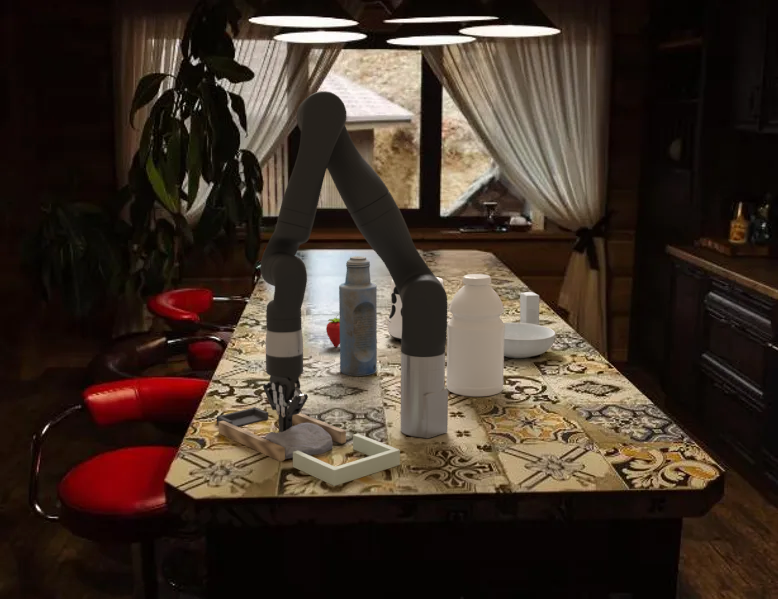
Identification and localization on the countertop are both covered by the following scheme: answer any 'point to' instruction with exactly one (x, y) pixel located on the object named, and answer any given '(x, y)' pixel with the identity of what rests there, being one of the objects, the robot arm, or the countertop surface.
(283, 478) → the countertop surface
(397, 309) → the milk container
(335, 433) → the channel
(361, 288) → the bottle
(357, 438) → the u-shaped green frame
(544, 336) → the serving bowl
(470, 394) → the bottle
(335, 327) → the strawberry
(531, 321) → the skincare box
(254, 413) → the dark gray shallow tray
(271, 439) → the stone block
